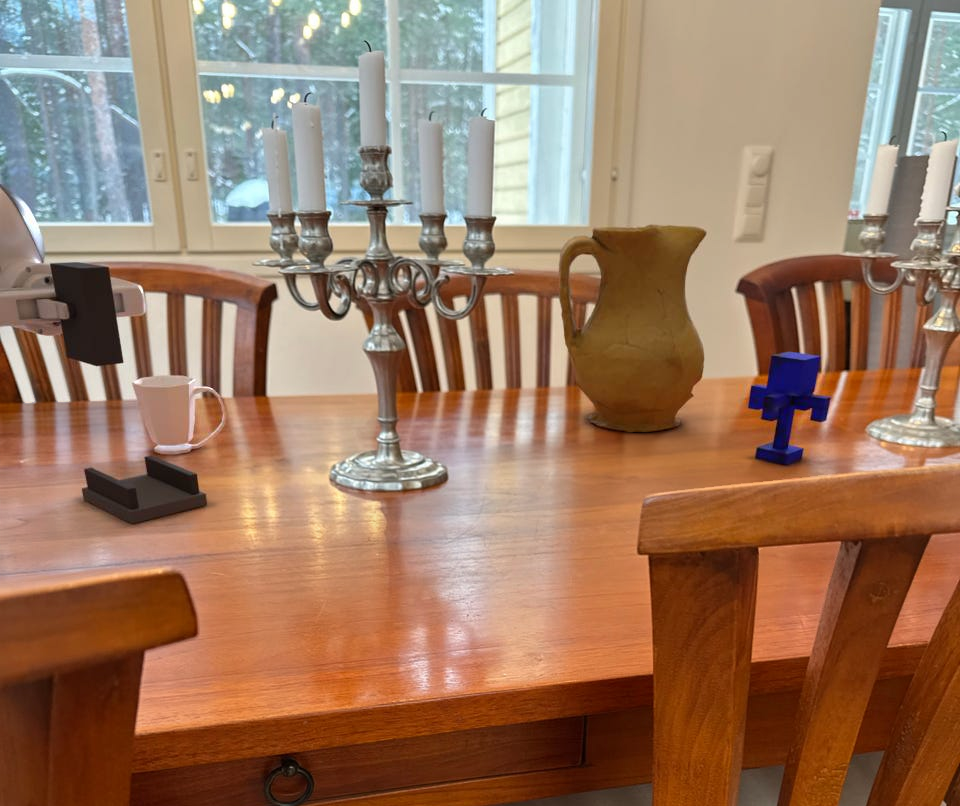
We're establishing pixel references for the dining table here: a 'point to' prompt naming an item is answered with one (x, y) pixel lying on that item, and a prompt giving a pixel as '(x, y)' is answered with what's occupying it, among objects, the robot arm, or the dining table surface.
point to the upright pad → (88, 313)
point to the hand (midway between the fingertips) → (90, 309)
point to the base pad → (145, 491)
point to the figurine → (788, 402)
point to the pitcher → (635, 326)
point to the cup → (171, 411)
